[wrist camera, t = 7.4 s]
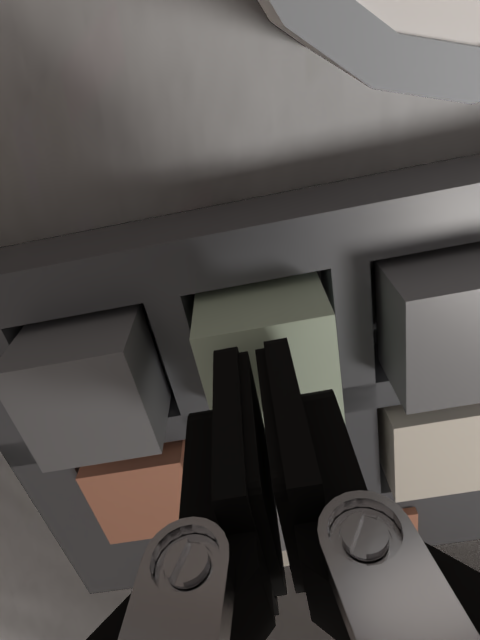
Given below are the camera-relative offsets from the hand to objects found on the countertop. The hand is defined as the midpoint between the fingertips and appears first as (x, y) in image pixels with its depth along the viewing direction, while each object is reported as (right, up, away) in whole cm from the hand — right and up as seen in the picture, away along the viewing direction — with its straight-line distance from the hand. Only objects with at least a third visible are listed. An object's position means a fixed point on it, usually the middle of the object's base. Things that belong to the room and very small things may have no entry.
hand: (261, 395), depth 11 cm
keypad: (+1, -1, +6) cm, 6 cm away
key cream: (+6, -1, +6) cm, 9 cm away
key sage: (0, +1, +3) cm, 3 cm away
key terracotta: (-4, -3, +7) cm, 8 cm away
